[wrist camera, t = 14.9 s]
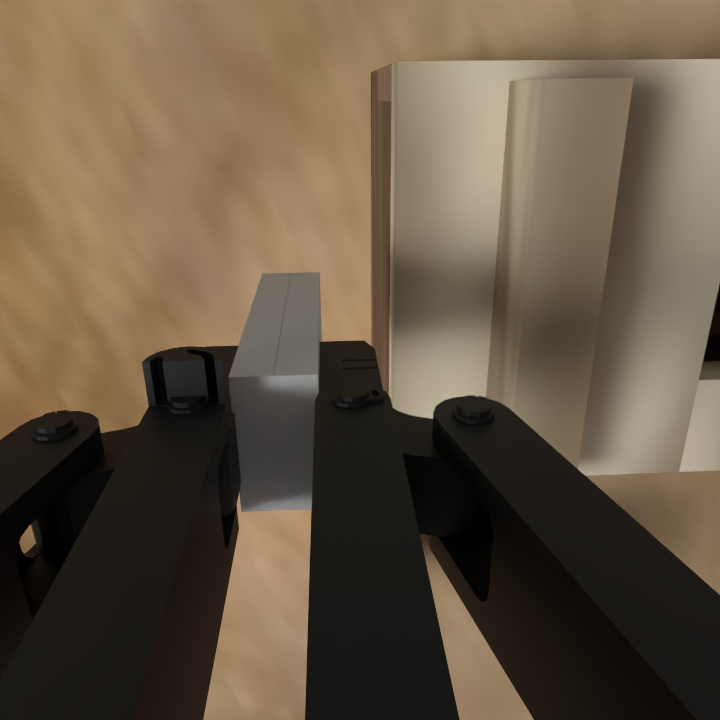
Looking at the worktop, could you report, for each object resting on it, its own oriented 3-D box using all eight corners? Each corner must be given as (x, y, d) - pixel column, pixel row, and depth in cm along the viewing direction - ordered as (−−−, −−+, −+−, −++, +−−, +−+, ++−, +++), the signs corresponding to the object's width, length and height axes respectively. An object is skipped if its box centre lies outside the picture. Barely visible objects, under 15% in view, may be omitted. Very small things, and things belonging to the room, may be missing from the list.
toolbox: (371, 369, 31) (387, 456, 23) (371, 72, 26) (391, 64, 18) (774, 356, 32) (912, 437, 24) (850, 68, 27) (1053, 58, 19)
